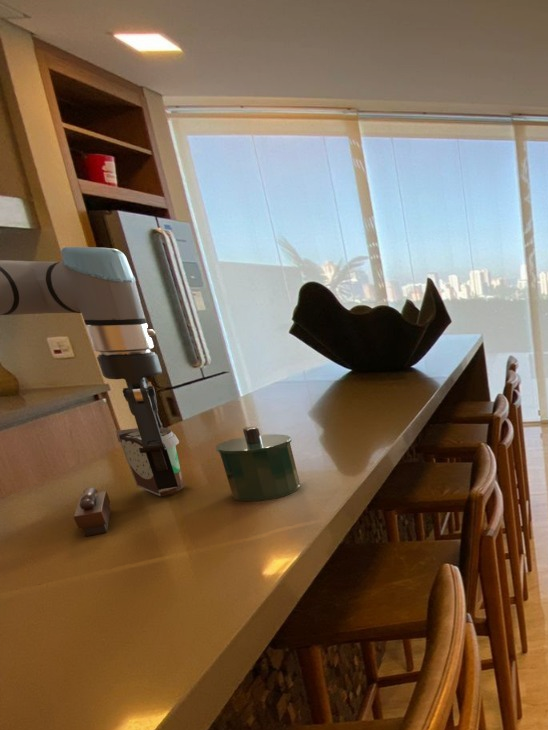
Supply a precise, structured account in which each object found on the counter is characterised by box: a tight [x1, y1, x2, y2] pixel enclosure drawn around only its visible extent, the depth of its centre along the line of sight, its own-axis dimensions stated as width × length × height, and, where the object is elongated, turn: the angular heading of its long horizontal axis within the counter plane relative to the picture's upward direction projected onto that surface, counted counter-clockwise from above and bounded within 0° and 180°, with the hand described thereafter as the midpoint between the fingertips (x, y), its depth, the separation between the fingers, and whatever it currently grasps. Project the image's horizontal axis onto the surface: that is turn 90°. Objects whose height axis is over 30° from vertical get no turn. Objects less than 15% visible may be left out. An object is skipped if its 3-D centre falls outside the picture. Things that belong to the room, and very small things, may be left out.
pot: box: [219, 442, 301, 502], centre depth 99 cm, size 10×10×8 cm
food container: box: [115, 427, 185, 497], centre depth 99 cm, size 12×6×10 cm, turn 59°
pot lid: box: [215, 426, 292, 454], centre depth 97 cm, size 11×11×4 cm
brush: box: [73, 486, 112, 537], centre depth 86 cm, size 12×3×5 cm, turn 39°
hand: (167, 478), depth 100 cm, fingers closed on food container, 12 cm apart
